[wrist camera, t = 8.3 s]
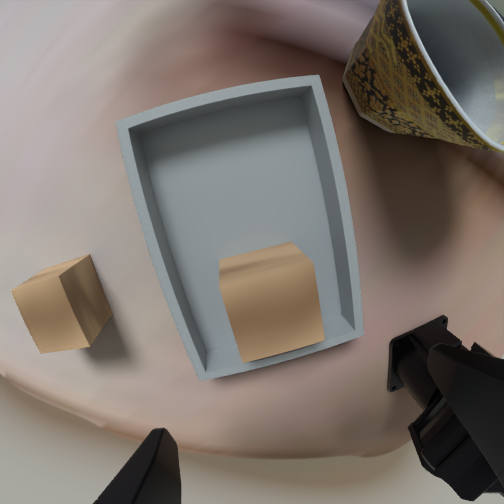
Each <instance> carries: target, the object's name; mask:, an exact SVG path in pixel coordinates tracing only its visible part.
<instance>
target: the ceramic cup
mask: <svg viewBox="0 0 504 504" xmlns="http://www.w3.org/2000/svg"><path fill="white" fill-rule="evenodd" d="M343 83H344V85H345V87H346V89H347V91H348V93H349V95H350V97H351V100H352V102H353V104H354V106H355V108H356V110H357V112H358V115H359V116H361V117H362V118H364V119H366V120H368V121H370V122H371V123H373V124H375V125H376V126H378V127H380V128H381V129H383V130H385V131H388V132H390V133H397V134H408V135H414V136H421V137H427V138H437V139H441V140H444V141H448V142H452V143H456V144H460V145H465V146H470V147H475V148H480V149H484V150H490V151H497V152H503V153H504V22H503V21H502V19H501V18H500V16H499V15H498V14H497V12H496V11H495V10H494V9H493V8H492V6H491V5H490V4H489V3H488V2H487V1H486V0H380V2H379V4H378V7H377V9H376V12H375V15H374V16H373V18H372V19H371V21H370V22H369V24H368V25H367V27H366V29H365V30H364V32H363V34H362V35H361V37H360V38H359V40H358V41H357V43H356V44H355V46H354V48H353V50H352V52H351V54H350V57H349V60H348V63H347V66H346V69H345V72H344V75H343Z"/></svg>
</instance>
